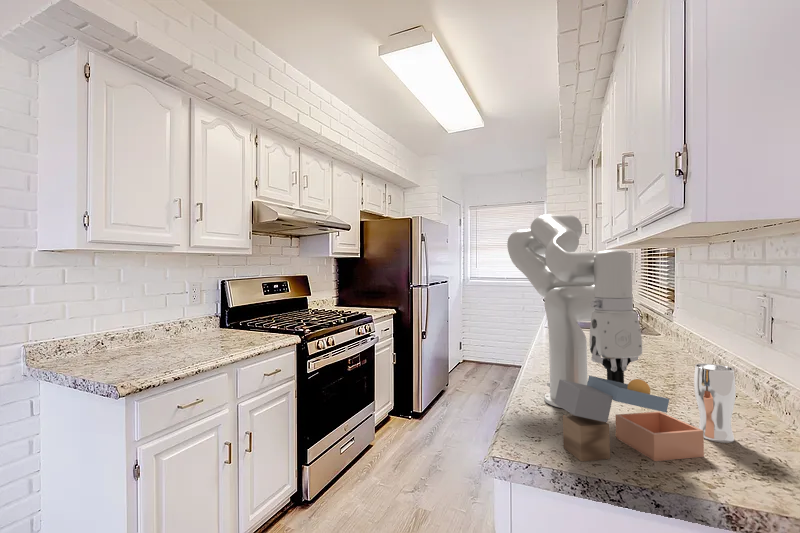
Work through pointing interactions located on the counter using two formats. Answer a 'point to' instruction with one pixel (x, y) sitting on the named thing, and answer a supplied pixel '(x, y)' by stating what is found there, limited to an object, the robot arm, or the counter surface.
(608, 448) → the pedestal
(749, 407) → the counter surface
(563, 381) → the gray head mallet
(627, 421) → the shallow terracotta crate
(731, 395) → the beer glass
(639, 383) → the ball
